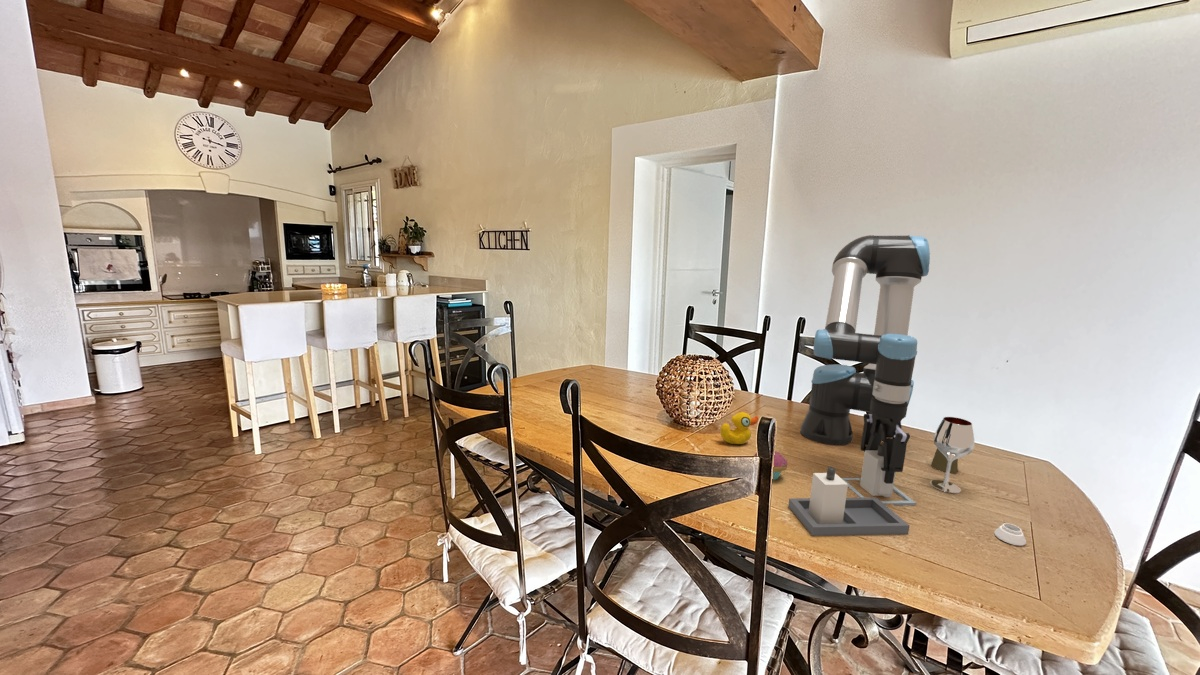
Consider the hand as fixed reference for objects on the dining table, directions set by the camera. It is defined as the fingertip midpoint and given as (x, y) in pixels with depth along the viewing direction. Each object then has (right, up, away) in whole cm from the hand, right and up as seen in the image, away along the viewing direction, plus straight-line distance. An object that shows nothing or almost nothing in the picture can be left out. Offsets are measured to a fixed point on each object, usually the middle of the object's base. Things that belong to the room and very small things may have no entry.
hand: (876, 487), depth 115 cm
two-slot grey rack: (-14, -4, -12) cm, 19 cm away
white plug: (-19, -3, -13) cm, 23 cm away
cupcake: (-24, 0, +7) cm, 25 cm away
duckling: (-27, +5, +27) cm, 38 cm away
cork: (+27, +1, +14) cm, 31 cm away
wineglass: (+20, -1, +3) cm, 20 cm away
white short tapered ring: (+18, -6, -17) cm, 25 cm away
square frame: (0, -1, 0) cm, 1 cm away
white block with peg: (0, -1, 0) cm, 1 cm away
